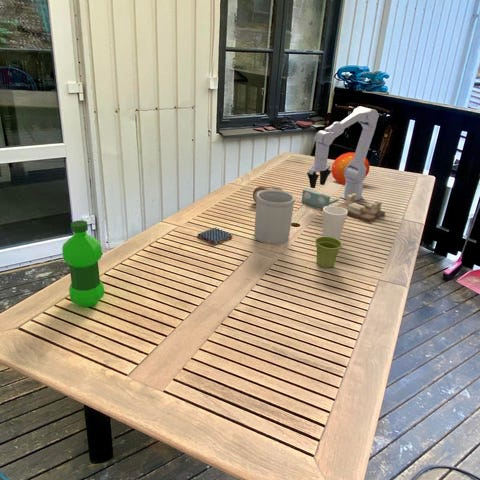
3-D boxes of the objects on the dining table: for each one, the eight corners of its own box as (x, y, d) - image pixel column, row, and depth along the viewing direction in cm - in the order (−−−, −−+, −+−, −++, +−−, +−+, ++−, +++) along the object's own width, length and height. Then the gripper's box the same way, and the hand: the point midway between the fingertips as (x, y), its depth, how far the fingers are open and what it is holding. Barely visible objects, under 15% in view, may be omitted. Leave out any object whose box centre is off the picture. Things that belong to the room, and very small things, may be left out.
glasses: (314, 196, 222) (315, 185, 219) (337, 204, 213) (339, 193, 210) (301, 201, 215) (302, 189, 212) (325, 209, 206) (327, 197, 203)
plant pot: (340, 260, 160) (343, 239, 156) (336, 272, 152) (340, 250, 148) (314, 255, 163) (317, 234, 159) (309, 267, 155) (312, 245, 151)
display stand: (349, 203, 215) (351, 191, 212) (384, 215, 203) (387, 202, 201) (332, 209, 206) (334, 197, 203) (369, 222, 194) (371, 210, 192)
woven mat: (195, 238, 172) (195, 233, 171) (215, 230, 179) (215, 226, 178) (214, 247, 166) (214, 242, 165) (233, 239, 173) (233, 234, 172)
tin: (284, 204, 209) (285, 187, 205) (284, 207, 206) (285, 190, 202) (252, 202, 210) (253, 185, 206) (251, 204, 207) (253, 187, 203)
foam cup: (344, 238, 178) (350, 208, 172) (339, 247, 170) (344, 216, 164) (322, 233, 181) (326, 204, 175) (315, 242, 173) (320, 211, 168)
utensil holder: (298, 237, 176) (302, 196, 168) (274, 249, 166) (278, 205, 158) (269, 226, 185) (273, 186, 177) (245, 236, 175) (248, 194, 167)
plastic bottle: (86, 316, 122) (77, 235, 112) (61, 303, 127) (50, 224, 116) (113, 300, 130) (107, 222, 119) (89, 288, 135) (80, 213, 124)
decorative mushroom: (334, 174, 257) (337, 149, 250) (369, 181, 249) (374, 155, 242) (325, 181, 245) (329, 154, 239) (363, 188, 237) (368, 161, 230)
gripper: (323, 153, 208) (319, 181, 214) (304, 158, 199) (301, 186, 205) (335, 156, 204) (331, 184, 210) (317, 161, 195) (313, 191, 200)
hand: (317, 186), depth 207 cm, fingers open, 7 cm apart
